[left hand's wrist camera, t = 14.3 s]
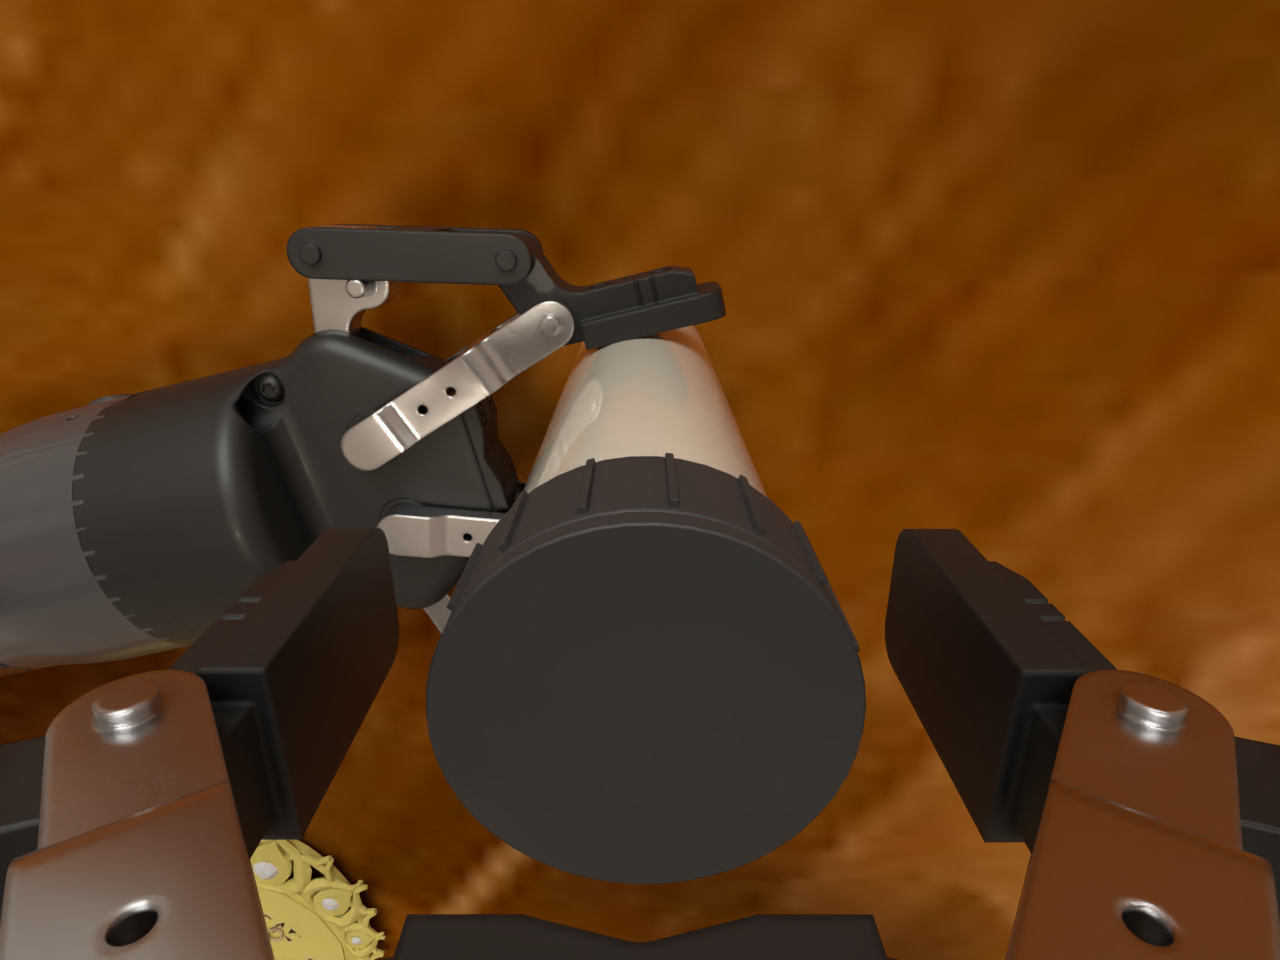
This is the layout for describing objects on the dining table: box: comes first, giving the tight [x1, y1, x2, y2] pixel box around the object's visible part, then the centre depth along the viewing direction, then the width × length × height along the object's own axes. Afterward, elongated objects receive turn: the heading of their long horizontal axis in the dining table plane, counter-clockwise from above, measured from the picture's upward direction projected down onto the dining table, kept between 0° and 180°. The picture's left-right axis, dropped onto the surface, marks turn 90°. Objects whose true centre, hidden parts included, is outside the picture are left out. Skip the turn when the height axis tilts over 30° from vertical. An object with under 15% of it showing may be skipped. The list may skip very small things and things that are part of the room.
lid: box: [426, 453, 866, 884], centre depth 10 cm, size 5×5×2 cm
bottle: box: [523, 325, 768, 498], centre depth 18 cm, size 5×5×19 cm
